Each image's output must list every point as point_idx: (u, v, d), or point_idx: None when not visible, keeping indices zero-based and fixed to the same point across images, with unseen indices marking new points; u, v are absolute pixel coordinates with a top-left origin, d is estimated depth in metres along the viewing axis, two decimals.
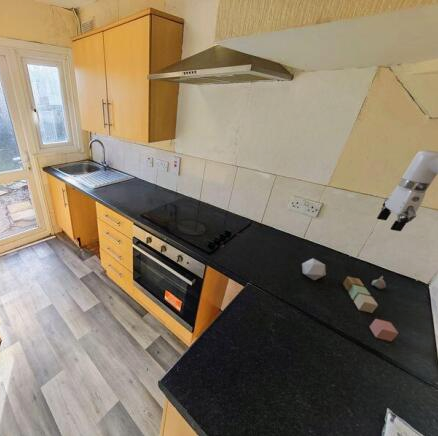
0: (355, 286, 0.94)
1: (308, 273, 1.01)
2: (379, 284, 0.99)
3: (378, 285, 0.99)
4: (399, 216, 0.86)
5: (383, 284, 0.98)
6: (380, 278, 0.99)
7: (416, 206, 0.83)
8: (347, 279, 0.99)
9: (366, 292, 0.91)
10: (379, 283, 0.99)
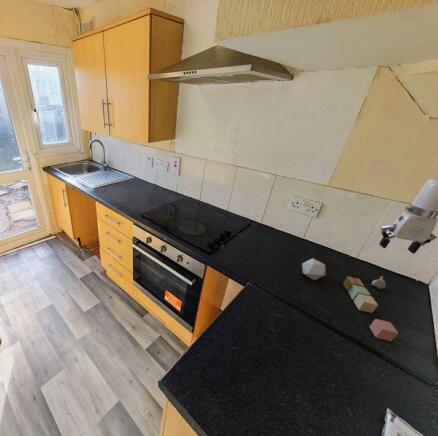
0: (355, 286, 0.94)
1: (308, 273, 1.01)
2: (379, 284, 0.99)
3: (378, 285, 0.99)
4: None
5: (383, 284, 0.98)
6: (380, 278, 0.99)
7: (399, 226, 0.87)
8: (347, 279, 0.99)
9: (366, 292, 0.91)
10: (379, 283, 0.99)
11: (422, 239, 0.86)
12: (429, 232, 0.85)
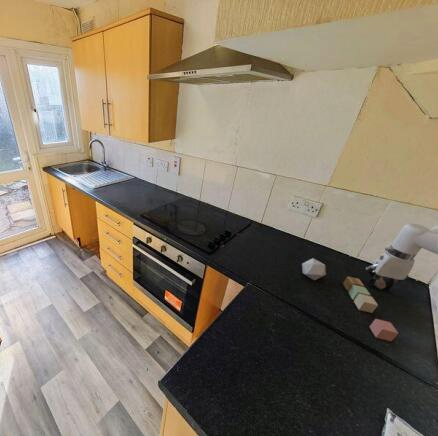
0: (355, 286, 0.94)
1: (308, 273, 1.01)
2: (379, 284, 0.99)
3: (378, 285, 0.99)
4: None
5: (383, 284, 0.98)
6: (380, 278, 0.99)
7: (380, 265, 0.95)
8: (347, 279, 0.99)
9: (366, 292, 0.91)
10: (379, 283, 0.99)
11: (401, 277, 0.93)
12: (407, 272, 0.92)
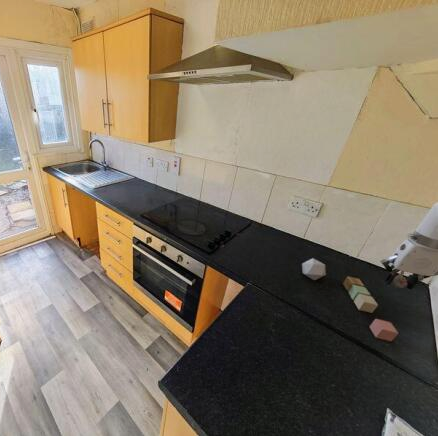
0: (355, 286, 0.94)
1: (308, 273, 1.01)
2: (398, 282, 0.77)
3: (397, 283, 0.77)
4: None
5: (404, 282, 0.76)
6: (400, 274, 0.77)
7: (401, 257, 0.73)
8: (347, 279, 0.99)
9: (366, 292, 0.91)
10: (398, 280, 0.77)
11: (429, 273, 0.71)
12: None
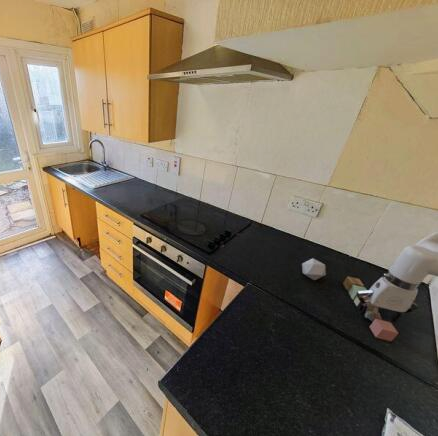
0: (355, 286, 0.94)
1: (308, 273, 1.01)
2: (374, 317, 0.83)
3: (372, 318, 0.83)
4: None
5: (378, 317, 0.82)
6: (375, 310, 0.83)
7: (376, 294, 0.78)
8: (347, 279, 0.99)
9: None
10: (374, 316, 0.83)
11: (402, 309, 0.77)
12: (409, 303, 0.75)
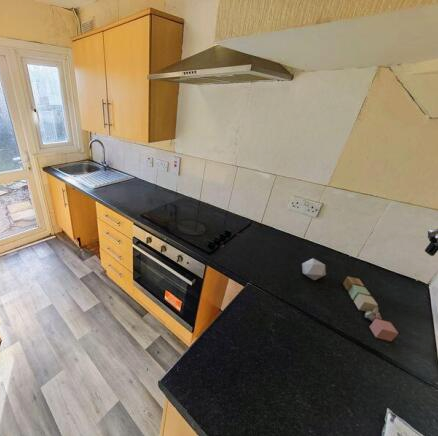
0: (355, 286, 0.94)
1: (308, 273, 1.01)
2: (374, 317, 0.83)
3: (372, 318, 0.83)
4: None
5: (378, 317, 0.82)
6: (375, 310, 0.83)
7: None
8: (347, 279, 0.99)
9: (366, 292, 0.91)
10: (374, 316, 0.83)
11: None
12: None
